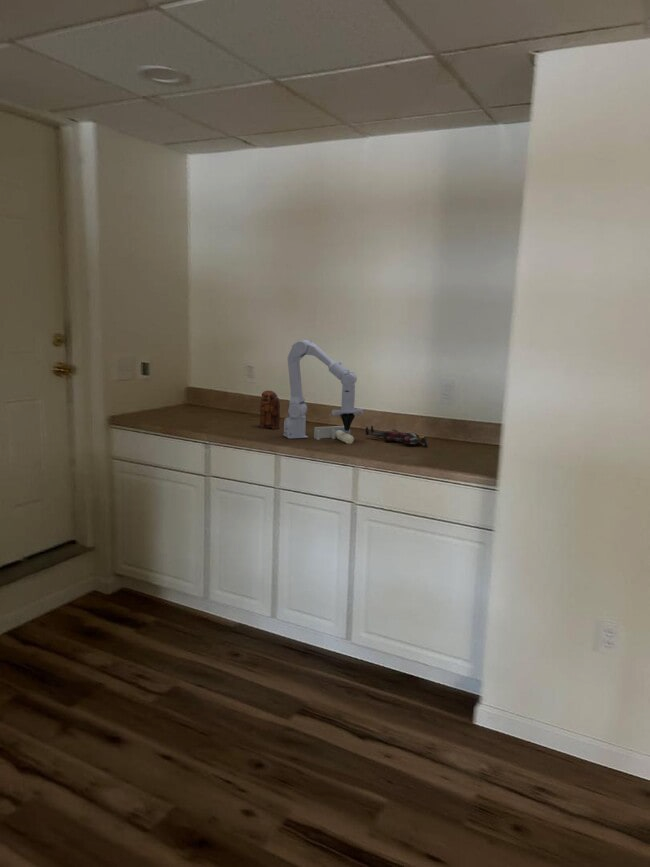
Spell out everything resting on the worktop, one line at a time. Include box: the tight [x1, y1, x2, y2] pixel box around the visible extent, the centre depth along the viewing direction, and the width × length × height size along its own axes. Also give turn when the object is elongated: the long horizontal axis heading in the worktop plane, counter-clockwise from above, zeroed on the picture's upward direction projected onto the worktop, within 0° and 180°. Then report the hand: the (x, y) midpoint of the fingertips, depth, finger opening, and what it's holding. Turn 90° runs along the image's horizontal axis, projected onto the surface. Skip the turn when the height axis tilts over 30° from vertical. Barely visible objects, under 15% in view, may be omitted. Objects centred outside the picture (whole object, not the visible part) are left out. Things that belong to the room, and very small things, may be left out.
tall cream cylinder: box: [335, 430, 355, 445], centre depth 293 cm, size 12×4×4 cm, turn 22°
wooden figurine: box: [259, 389, 281, 430], centre depth 317 cm, size 12×6×18 cm, turn 59°
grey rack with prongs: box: [313, 425, 351, 441], centre depth 298 cm, size 16×4×5 cm, turn 112°
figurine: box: [365, 425, 429, 448], centre depth 293 cm, size 13×6×30 cm
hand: (346, 430), depth 292 cm, fingers closed
